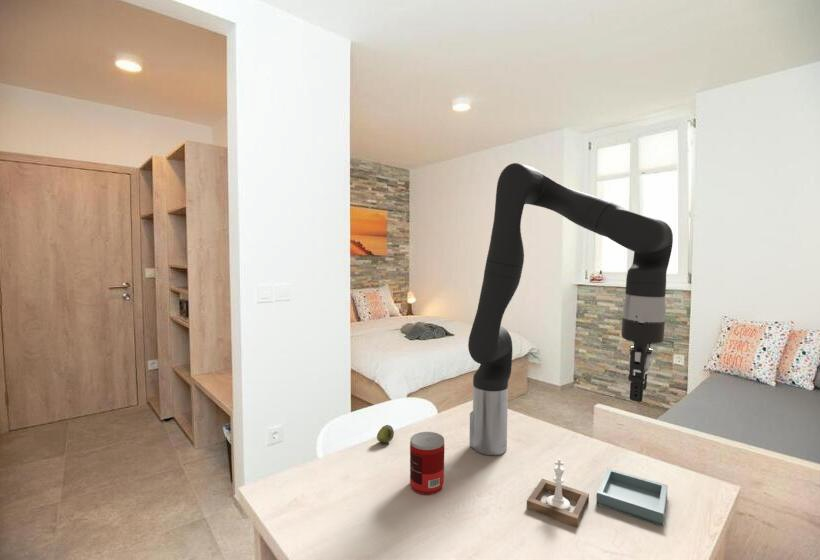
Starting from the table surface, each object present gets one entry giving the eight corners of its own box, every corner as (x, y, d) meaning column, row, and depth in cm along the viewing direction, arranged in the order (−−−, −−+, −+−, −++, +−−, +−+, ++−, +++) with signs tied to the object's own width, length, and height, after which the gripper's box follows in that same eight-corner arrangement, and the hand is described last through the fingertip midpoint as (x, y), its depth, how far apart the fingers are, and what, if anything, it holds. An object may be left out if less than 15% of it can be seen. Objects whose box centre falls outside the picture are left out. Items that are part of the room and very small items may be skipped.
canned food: (448, 480, 95) (449, 434, 94) (436, 499, 88) (436, 450, 87) (418, 473, 98) (418, 428, 97) (404, 490, 91) (404, 443, 90)
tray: (596, 504, 86) (596, 492, 86) (607, 478, 96) (607, 468, 96) (662, 526, 79) (663, 513, 79) (667, 496, 89) (667, 485, 89)
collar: (526, 508, 85) (526, 500, 84) (541, 486, 93) (542, 478, 93) (577, 527, 79) (577, 518, 79) (588, 501, 87) (589, 493, 87)
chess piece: (572, 514, 83) (574, 466, 82) (547, 511, 84) (548, 464, 83) (568, 499, 88) (569, 454, 87) (544, 497, 89) (545, 452, 88)
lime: (375, 445, 112) (375, 427, 112) (380, 437, 117) (380, 420, 117) (391, 447, 111) (391, 429, 111) (395, 439, 116) (395, 422, 116)
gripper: (627, 311, 91) (622, 381, 92) (617, 320, 79) (612, 400, 80) (666, 314, 87) (661, 388, 88) (663, 324, 75) (656, 410, 76)
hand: (638, 394), depth 84 cm, fingers open, 8 cm apart
